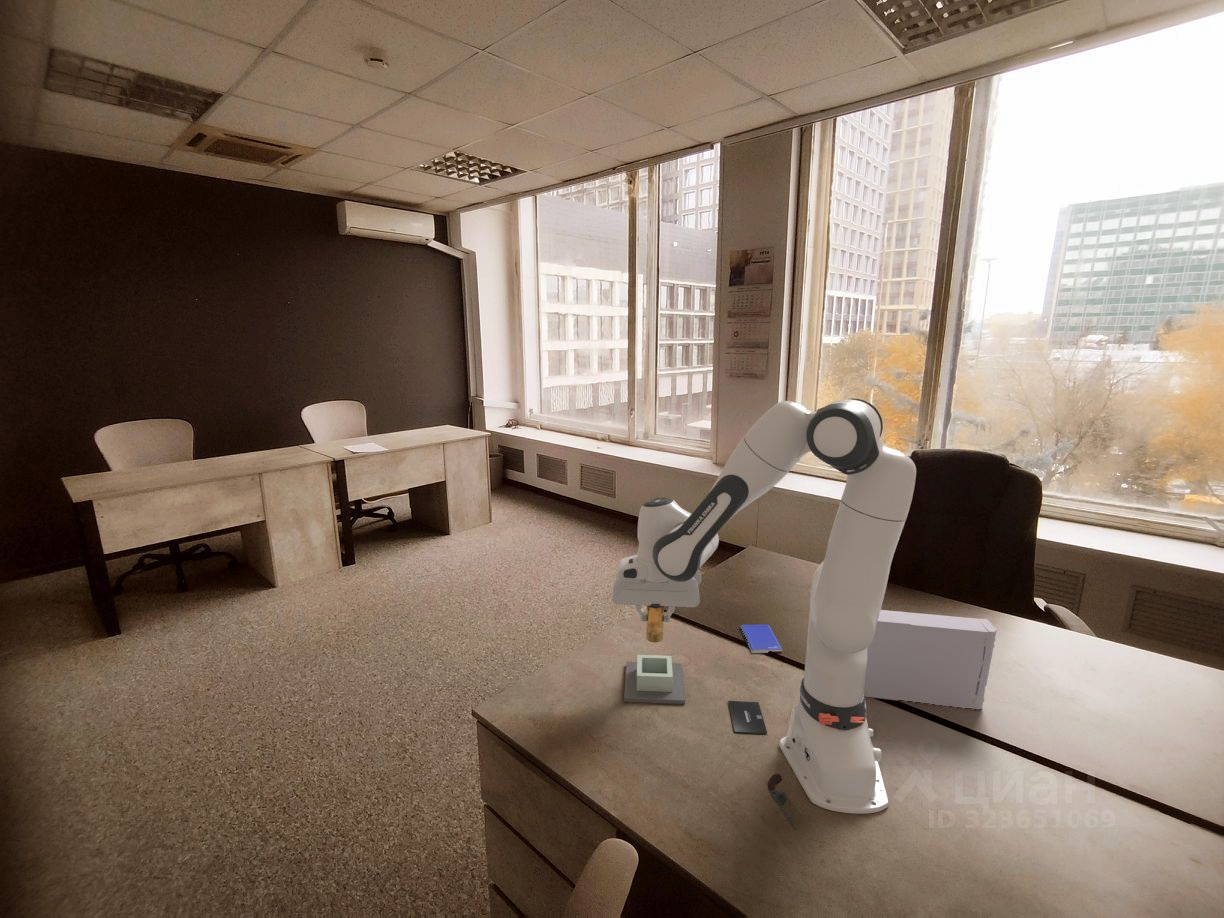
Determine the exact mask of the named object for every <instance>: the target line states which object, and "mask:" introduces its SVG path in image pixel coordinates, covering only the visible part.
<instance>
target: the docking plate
mask: <svg viewBox="0 0 1224 918" xmlns="http://www.w3.org/2000/svg"><path fill="white" fill-rule="evenodd" d="M636 658H637V659H636V660H637V661H626V666H625V680H624V681H625V682H624V684H625V685H624V702H625V703H642V704H643V703H645V704H647V703H648V704H672V705H673V704H674V705H675V704H676V705H686V694H685V684H684V676H683V674H684V673H683V664H682V663H681V662H680V663H679V662H678V663H675V662H673V658H672V655H661V654H659V655H658V654H657V655H656V654H655V655H654V654H637V656H636Z"/></svg>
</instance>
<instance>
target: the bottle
mask: <svg viewBox="0 0 1224 918" xmlns="http://www.w3.org/2000/svg"><path fill="white" fill-rule="evenodd" d="M646 612H647V621H645V622H646V628H645V629H646V630H645V639H646V640H647V641H648V642H650V643H660V642H662V641H663V640H664V639H663V638H664V622H663V619H664V612H665V606H660V604H651V605H650V606H648V605H646Z"/></svg>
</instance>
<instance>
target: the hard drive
mask: <svg viewBox="0 0 1224 918" xmlns="http://www.w3.org/2000/svg"><path fill="white" fill-rule="evenodd" d="M740 629H742V630H741V632H742V631H743V632H742V634H743V633H744V634H743V636H744V635H745V637H746V639H747V641H746V643H747V642H748V643H747V645H748V647H749V649H750V651H751V654H769V653H768V652H769V651H784V650H783V648H782V646H781V644H780V643H779V641H778V639H777V637H776V635H775V634H774V632H773V630H772V628H771V627H770V625H769V624H741V625H740ZM745 637H744V638H745ZM746 639H745V640H746Z"/></svg>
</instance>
